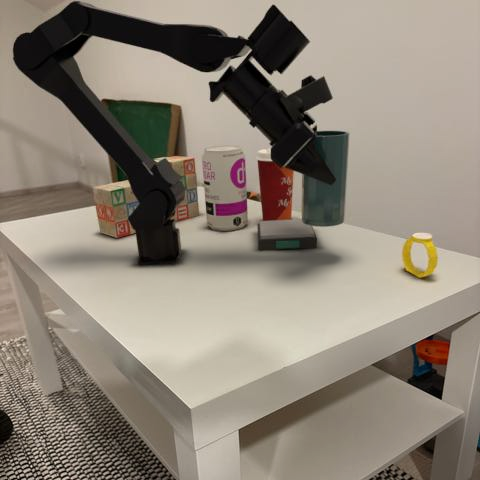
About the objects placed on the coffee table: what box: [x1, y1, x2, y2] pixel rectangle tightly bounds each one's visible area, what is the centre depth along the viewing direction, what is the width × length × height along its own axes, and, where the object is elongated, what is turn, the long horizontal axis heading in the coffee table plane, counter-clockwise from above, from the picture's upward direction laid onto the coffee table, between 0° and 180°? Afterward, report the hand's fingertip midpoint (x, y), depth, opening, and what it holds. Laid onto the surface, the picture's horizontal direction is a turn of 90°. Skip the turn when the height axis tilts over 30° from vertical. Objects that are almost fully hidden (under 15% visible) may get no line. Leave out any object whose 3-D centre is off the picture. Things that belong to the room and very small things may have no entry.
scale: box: [257, 218, 318, 251], centre depth 92 cm, size 10×10×2 cm
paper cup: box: [255, 147, 295, 221], centre depth 100 cm, size 8×8×14 cm
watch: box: [401, 232, 439, 279], centre depth 73 cm, size 6×3×6 cm, turn 22°
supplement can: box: [201, 145, 249, 232], centre depth 99 cm, size 8×8×15 cm
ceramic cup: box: [301, 130, 350, 228], centre depth 77 cm, size 7×7×13 cm
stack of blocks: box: [92, 155, 200, 239], centre depth 104 cm, size 21×6×12 cm, turn 136°
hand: (333, 177), depth 77 cm, fingers closed on ceramic cup, 7 cm apart
